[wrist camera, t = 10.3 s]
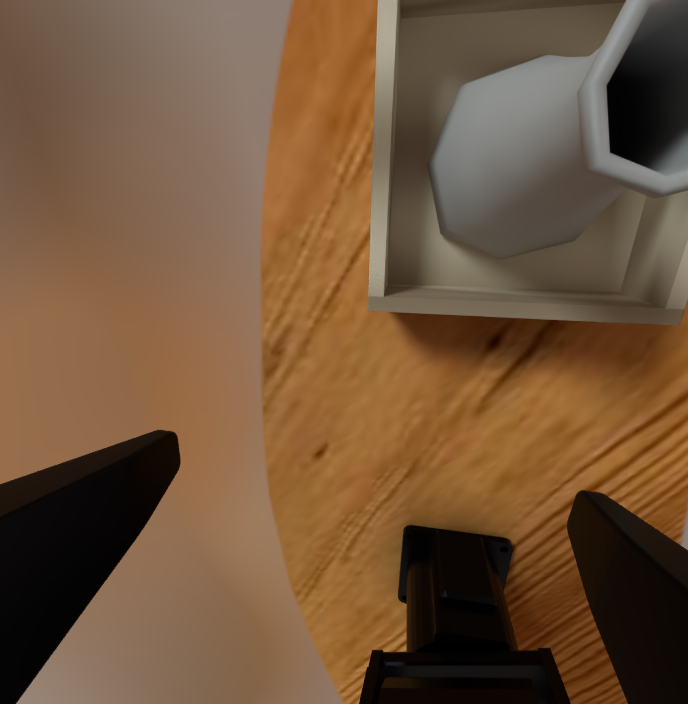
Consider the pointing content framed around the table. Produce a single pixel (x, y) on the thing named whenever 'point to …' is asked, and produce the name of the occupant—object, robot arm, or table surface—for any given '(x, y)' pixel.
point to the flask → (566, 136)
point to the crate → (417, 197)
